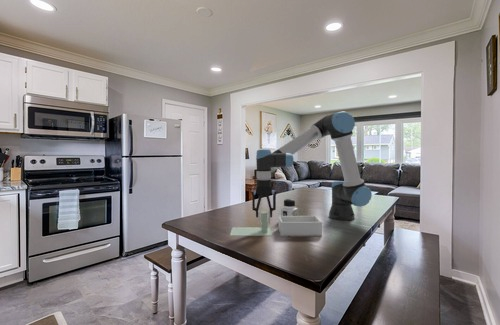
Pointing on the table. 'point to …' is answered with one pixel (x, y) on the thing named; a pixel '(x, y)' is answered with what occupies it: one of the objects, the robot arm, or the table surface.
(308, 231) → the tub
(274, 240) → the table surface
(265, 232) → the green base with post
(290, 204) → the container
